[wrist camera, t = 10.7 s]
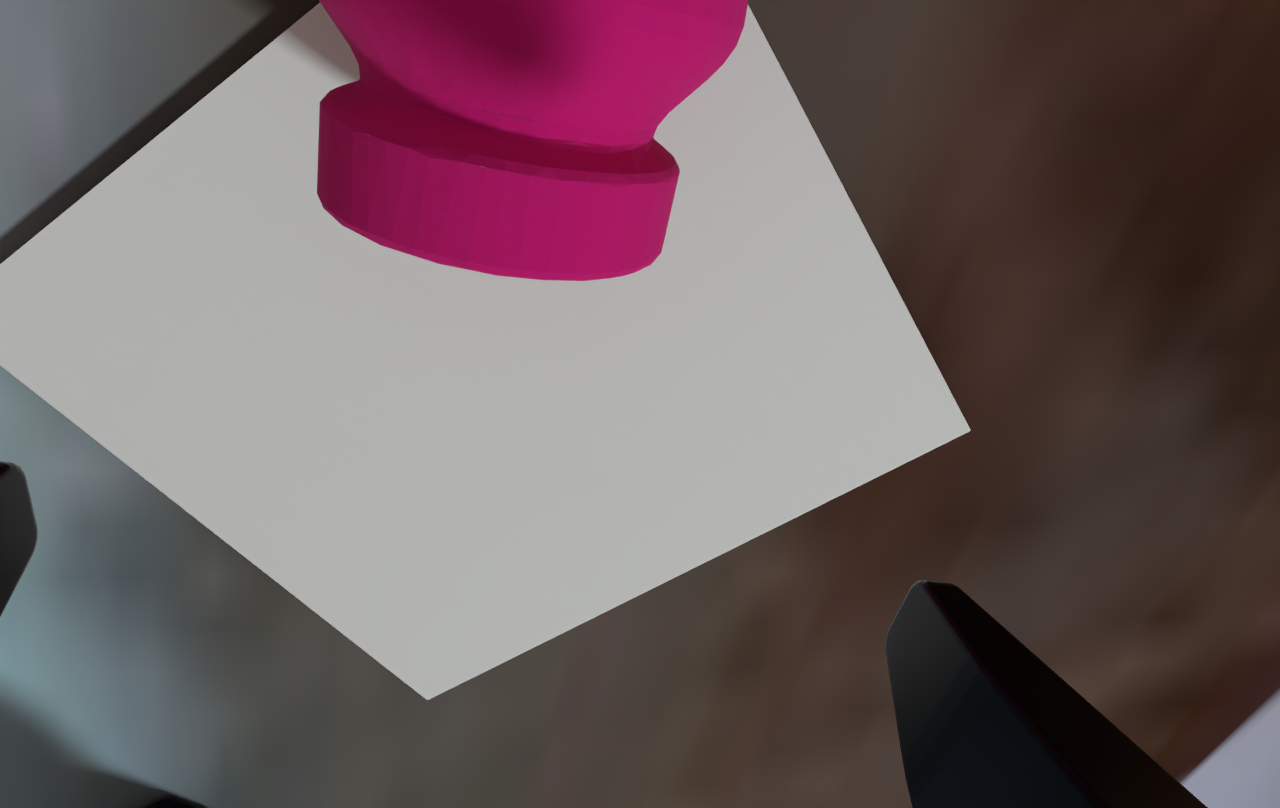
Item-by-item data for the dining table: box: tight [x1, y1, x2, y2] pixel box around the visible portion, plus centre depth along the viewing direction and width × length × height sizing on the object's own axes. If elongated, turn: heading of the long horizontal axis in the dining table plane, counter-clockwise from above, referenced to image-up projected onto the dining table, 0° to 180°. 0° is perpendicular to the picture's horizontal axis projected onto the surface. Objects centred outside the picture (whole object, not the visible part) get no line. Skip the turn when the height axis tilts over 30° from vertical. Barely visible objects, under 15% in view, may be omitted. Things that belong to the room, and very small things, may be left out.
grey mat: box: [0, 3, 971, 700], centre depth 22 cm, size 20×18×1 cm
